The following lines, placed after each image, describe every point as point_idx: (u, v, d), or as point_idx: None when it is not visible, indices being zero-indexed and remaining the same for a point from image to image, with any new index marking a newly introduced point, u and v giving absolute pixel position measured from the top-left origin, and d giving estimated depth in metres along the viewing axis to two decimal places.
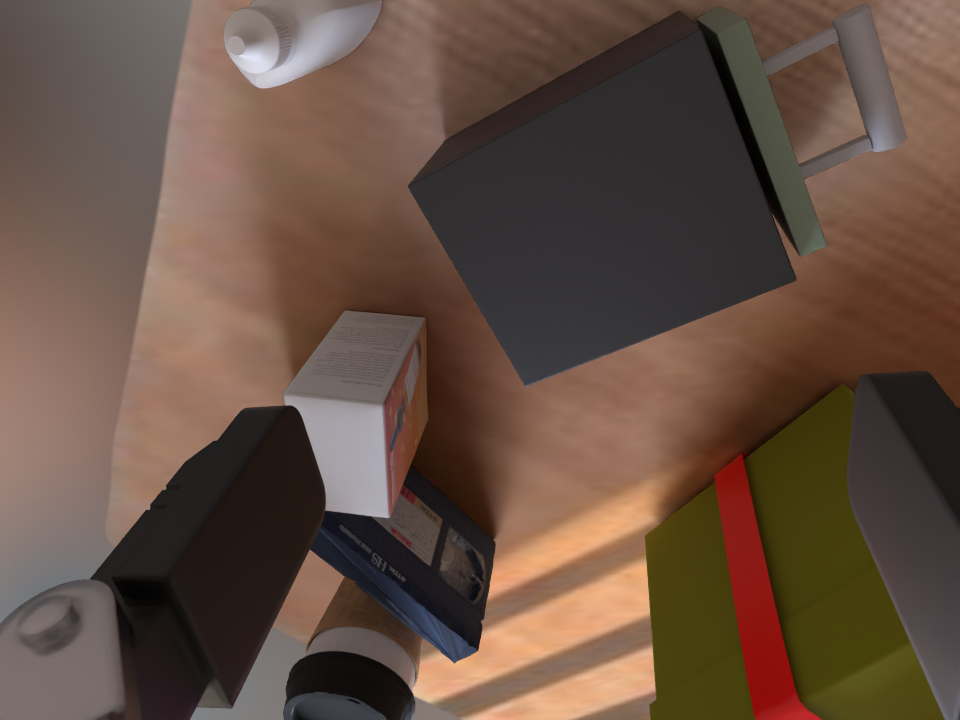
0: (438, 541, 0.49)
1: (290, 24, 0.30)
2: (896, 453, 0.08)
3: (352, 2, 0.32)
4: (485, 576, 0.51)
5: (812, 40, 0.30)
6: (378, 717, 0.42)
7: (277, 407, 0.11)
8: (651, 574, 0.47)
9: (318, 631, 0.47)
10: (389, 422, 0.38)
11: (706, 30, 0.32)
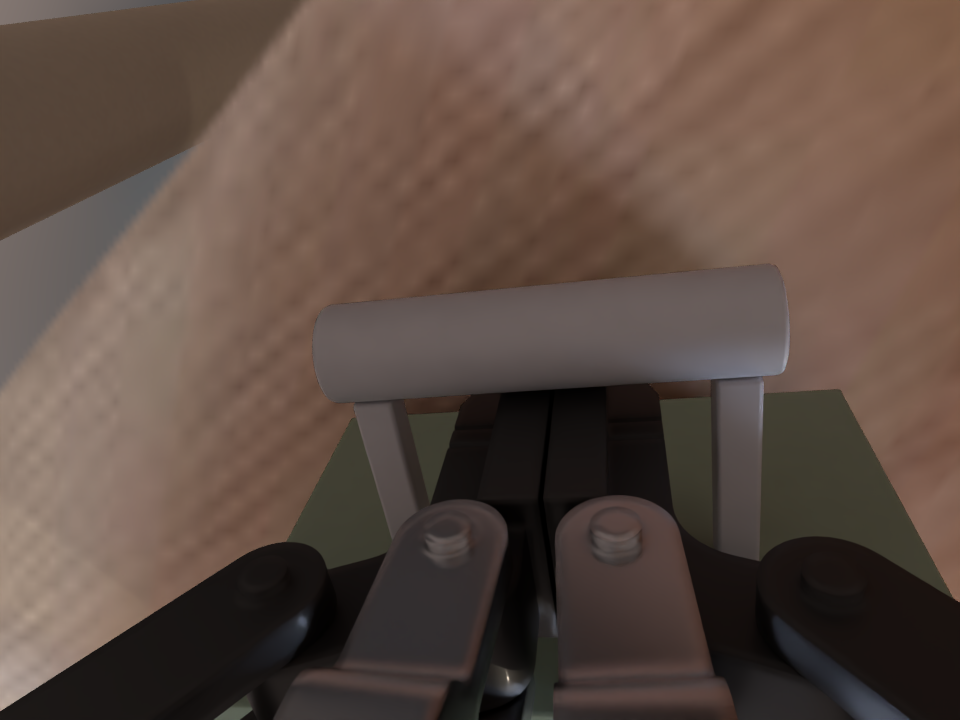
0: None
1: None
2: None
3: None
4: None
5: (371, 458, 0.11)
6: None
7: None
8: None
9: None
10: None
11: None
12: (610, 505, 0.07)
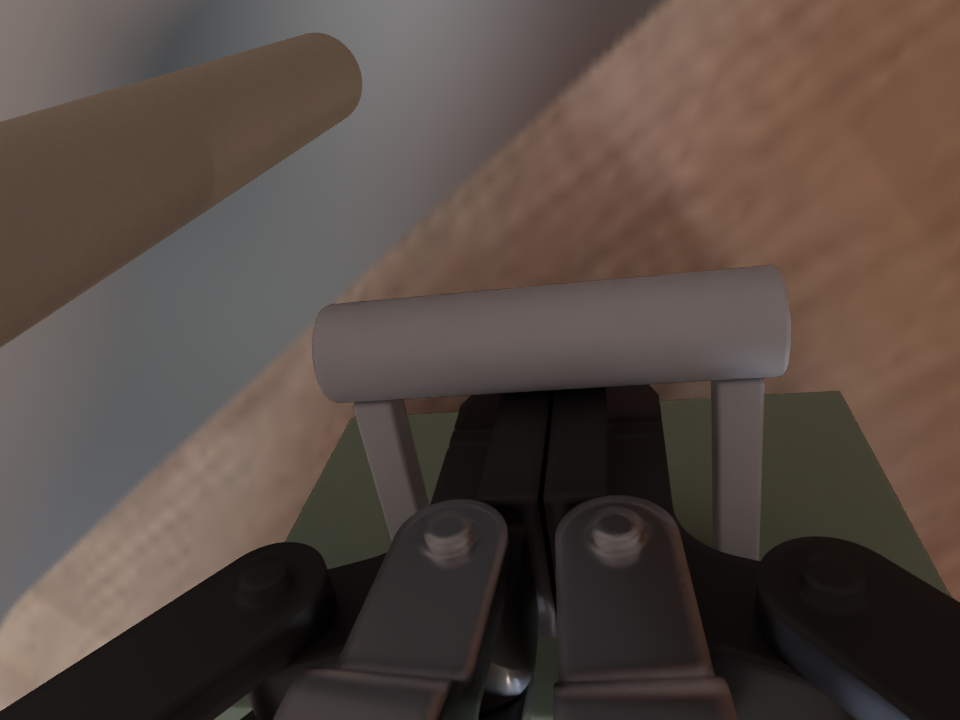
0: None
1: None
2: None
3: None
4: None
5: (370, 458, 0.11)
6: None
7: None
8: None
9: None
10: None
11: None
12: (610, 505, 0.07)
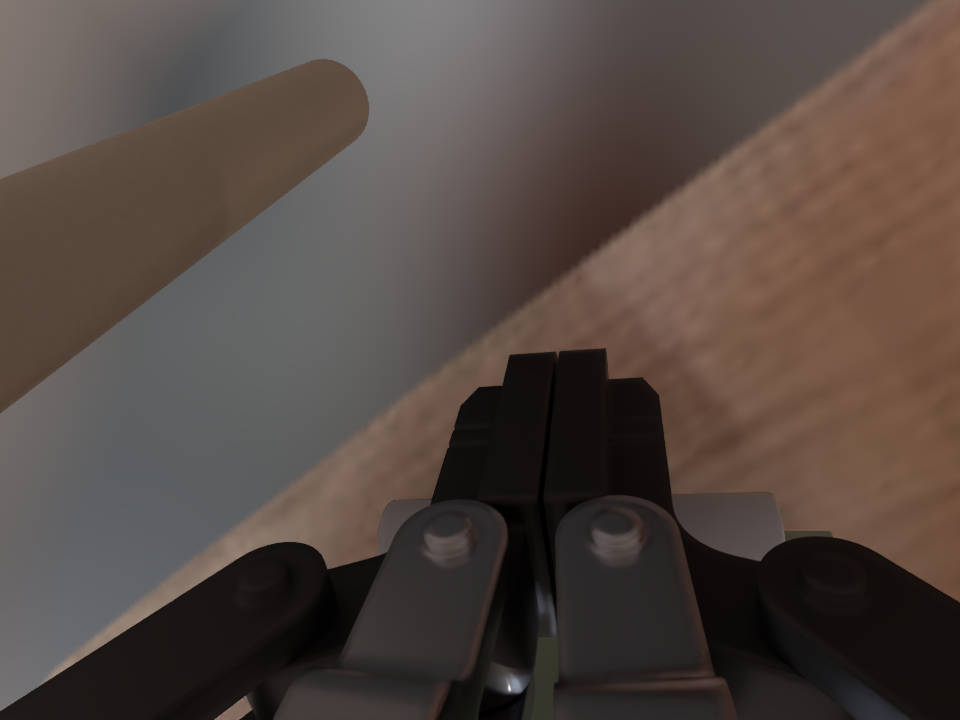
0: None
1: None
2: None
3: None
4: None
5: None
6: None
7: (546, 353, 0.11)
8: None
9: None
10: None
11: None
12: (610, 505, 0.07)
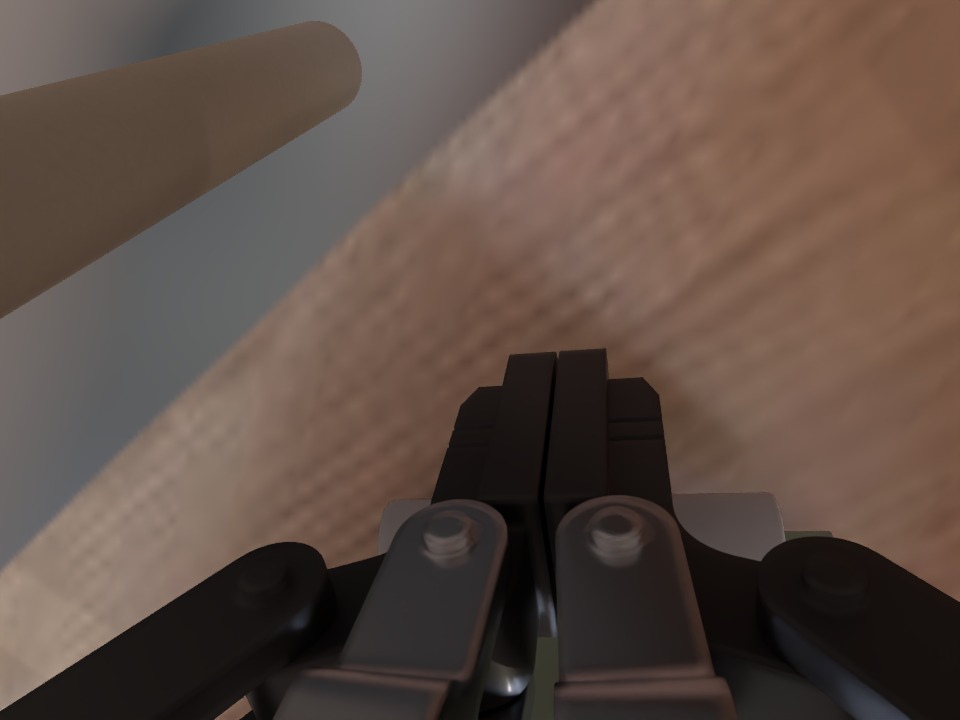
0: None
1: None
2: None
3: None
4: None
5: None
6: None
7: (546, 353, 0.11)
8: None
9: None
10: None
11: None
12: (610, 505, 0.07)
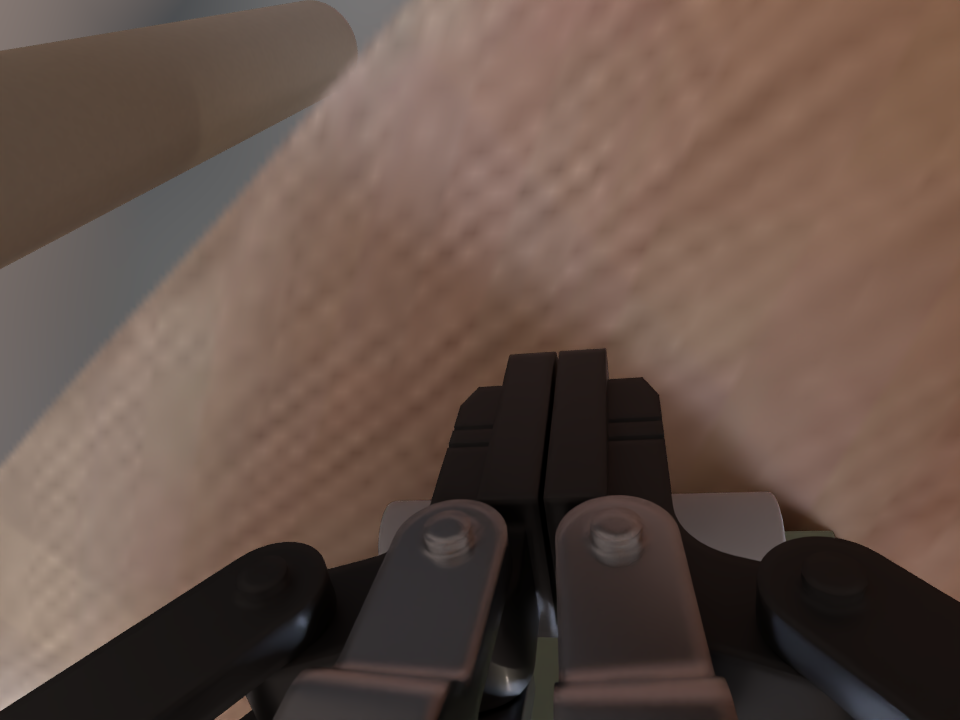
0: None
1: None
2: None
3: None
4: None
5: None
6: None
7: (546, 353, 0.11)
8: None
9: None
10: None
11: None
12: (610, 505, 0.07)
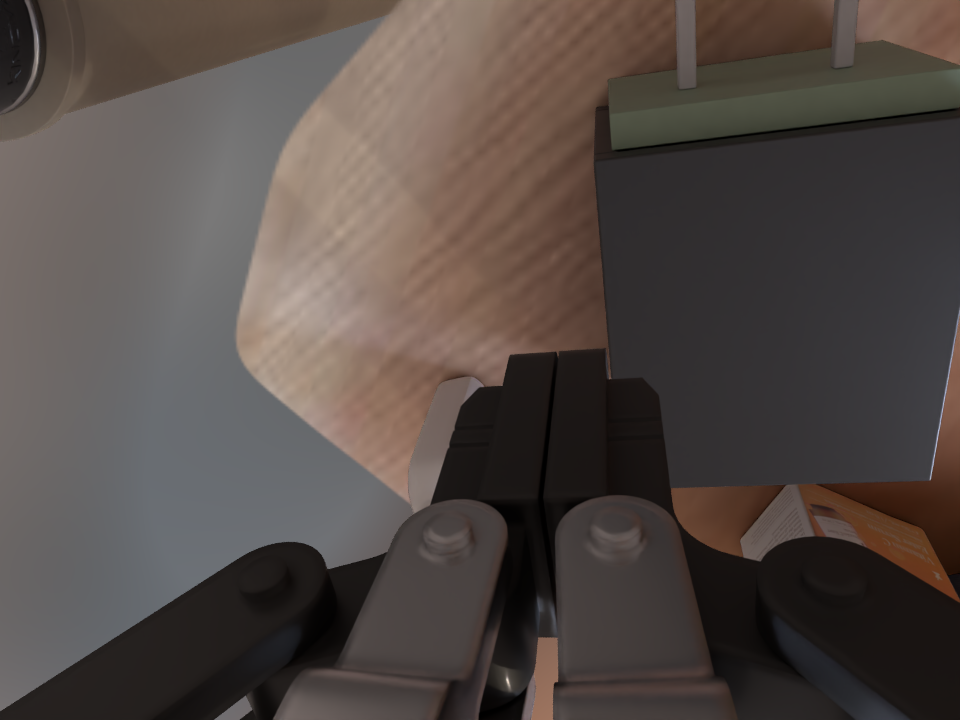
0: None
1: None
2: None
3: (451, 429, 0.34)
4: None
5: (679, 16, 0.24)
6: None
7: (546, 353, 0.11)
8: None
9: None
10: None
11: None
12: (610, 505, 0.07)
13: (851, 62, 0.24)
